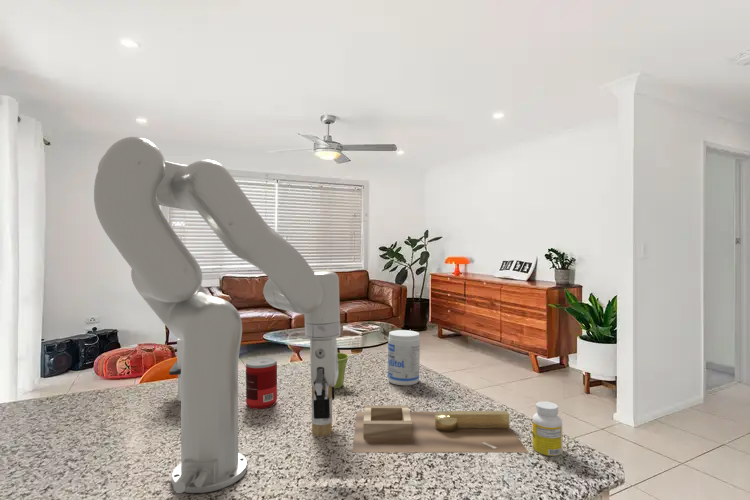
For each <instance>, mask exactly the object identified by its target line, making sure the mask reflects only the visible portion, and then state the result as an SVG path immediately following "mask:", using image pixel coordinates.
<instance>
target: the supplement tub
mask: <svg viewBox="0 0 750 500" xmlns="http://www.w3.org/2000/svg"><path fill="white" fill-rule="evenodd" d="M420 342H421V339H420V332H418V331H414V330H410V329H409V330H407V329H397V330H392V331H391V330H390V331H389V332H388V341H387V380H388V382H389V383H391V384H393V385H396V386H413V385H416V384H417V383H418V382H419V381H420V355H421V351H420V350H421V348H420V347H421V345H420V344H421V343H420Z"/></svg>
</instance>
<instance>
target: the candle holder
mask: <svg viewBox="0 0 750 500" xmlns="http://www.w3.org/2000/svg"><path fill="white" fill-rule="evenodd" d="M183 352H184V341H182V340H180V339H179V338H177V340H176V354H177V355H176V357H177V359H176V360H177V361H175V363H174V364H173V365H172V366H171V368H170V369H169V371H168V372H169V375H170V376H174V375H175V376H176V375H177V402H181V366H182V359H183Z"/></svg>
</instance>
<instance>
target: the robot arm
mask: <svg viewBox="0 0 750 500" xmlns="http://www.w3.org/2000/svg"><path fill="white" fill-rule="evenodd" d="M93 187H94V188H93V204H94V208H95V212H96V216H97V219H98V221H99V223H100V225H101V227H102V229H103V230H104V233H105V234H106V236H107V237H108V238H109V240H110V241H111V243H112V244H113V246H114V247H116V249H117V250H118V251H117V252H119V253H120V255H121V257H122V258H123V259H124V260H125V262H126V263H127V264H128V265H129V267H130V269H131V271H130V274H131V275H130V276H131V281H132V284H133V286H134V288H135V289H136V290H137V292H138V294H139V295H140V296H141V297H142V299H143V300H144V301H145V302H146V303H147V305H148V306H149V308H151V310H152V311H153V312H154V313H155V315H156V316H157V317H158V318H159V320H160V321H161V322H162V324H164V325H165V327H166V328H167V329H168V330H169V332H171V333H172V335H174V336H175V337H176V338H177V339H180V340H182V341H184V352H183V359H182V366H181V401H180V435H181V436H180V460H181V461H180V463H179V464H178V465H177V466H176V467H175V468H174V469H173V471H172V472H171V479H170V480H171V485H172V487H173V490H174V492H175V493H177V494H182V493H187V494H188V493H190V494H203V493H210V492H215V491H219V490H222V489H225V488H227V487H230V486H231V485H233V484H235V483H236V482H238V481H239V480H240V479H242V478H243V477H244V476H245V474H246V473H247V470H248V460H247V458H246V457H245V456H244V455H243V454H241V453H239V357H240V356H239V355H240V350H241V349H240V348H241V342H242V335H243V322H242V318H241V315H240V313H239V310H238V309H237V308H236V307H235V306H234V305H233V304H232V303H231V302H230V301H228V300H226V299H224V298H221V297H219V296H215V295H209V293H208V292H207V291H206V289H205V288H204V287H203V286H202V282H203V272H202V269H201V267H200V264H199V262H198V261H197V259H196V258H195V257H194V256H193V254H192V253H191V252H190V251H189V249H188V248H187V247H186V245H185V244H184V243H183V241H182V240H181V238H180V237H179V236H178V234H177V233H176V232H175V230H174V229H172V226H171V225H170V223H169V222H168V220H167V218H166V217H165V215H164V213H163V211H162V210H161V208H160V206H162V207H167V208H172V209H180V210H185V211H197V213H198V214H199V215H200V216H201V218H203V220H204V222H206V224H207V225H208V226H209V227H210V229H211V230H212V231H213V232H214V233H215V235H216V236H217V238H218V239H219V240H220V241H221V243H222V244H223V245H224V247H225V248H226V249H227V250H228V251H230V252H231V253H232V254H233V255H234V256H236V257H238V258H239V259H241V260H243V261H245V262H247V263H248V264H250V265H252V266H253V267H256V268H257V269H258V270H260V272H262V273H263V274H265V276H266V277H268V279H267V280H266V281H265V283H264V286H263V297H264V299H265V301H266V302H267V304H269V305H270V306H272V307H273V308H276V309H279V310H283V311H285V312H286V311H288V312H291V313H295V314H301V315H304V338H305V339H307V340H309V341H310V342H309V343H310V344H309V345H310V347H309V351H310V352H309V353H310V354H309V355H310V356H309V358H310V359H309V361H310V362H309V363H310V383H311V384H312V385H311V387H312V386H313V387H314V399H313V405H314V418H315V419H328V418H329V417H330V403H329V398H328V387H329V386H332V401H334V400H335V389H334V386H335V384H336V381H337V378H338V357H337V353H338V342H337V338H340V336H341V315H340V314H341V311H340V309H341V308H340V279H339V275H338V274H337V273H336V272H334V271H330V270H329V271H328V270H326V271H322V270H321V271H315V270H313V268H312V267H311V266H310V264H309V263H308V262H307V260H306V259H305V257H303V256H302V254H301V253H300V252H299V251H298V250H297V249H296V248H295V247H294V246H293V245H292V244H290V242H288V241H287V240H286V239H285V238H284V237H283V236H282V235H280V233H279V232H277V231H276V230H275V229H273V228H272V227H271V226H269V225H268V223H267V222H266V221H265V220H264V219H263V218H262V216H261V215H260V213H259V212H258V210H257V209H256V208H255V206H254V204H252V202H251V201H250V200H249V198H248V196H247V195H246V194H245V192H244V191H243V190H242V189H241V187H240V186H239V184H238V183H237V182H236V180H235V179H234V178H233V176H232V175H231V173H230V172H229V170H227V168H226V167H225V166H224V165H222V164H221V163H220V162H217V161H216V160H211V159H202V160H198V161H194V162H192V163H189V164H188V165H187V164H180V163H175V162H172V161H167V160H165V157H164V155H163V153H162V151H161V150H160V149H159V147H158V146H157V145H156V144H154V143H153V142H152V141H150V140H149V139H146V138H145V137H141V136H130V137H129V136H128V137H124V138H121V139H119V140H117V141H116V142H114V143H113V144H112V145H110V147H109V148H108V149H107V150H106V152H105V153H104V155H103V156H102V157H101V158H100V160H99V162H98V165H97V173H96V175H95V179H94V186H93ZM314 381H315V382H314ZM323 382H326V383H323ZM322 388H325V391H324V389H322Z"/></svg>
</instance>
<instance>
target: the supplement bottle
mask: <svg viewBox="0 0 750 500" xmlns="http://www.w3.org/2000/svg"><path fill="white" fill-rule="evenodd" d="M535 411H536V413H534V414H533V416H532V449H533V451H534V452H535V453H536V454H539V455H541V456H546V457H550V458H551V457H552V458H554V457H555V458H556V457H561V456H562V455H563V452H564V451H563V450H564V449H563V444H564V443H563V419H562V418H561V417H560V416H559V405H558V404H557V403H554V402H551V401H544V400H542V401H538V402H536V403H535Z"/></svg>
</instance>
